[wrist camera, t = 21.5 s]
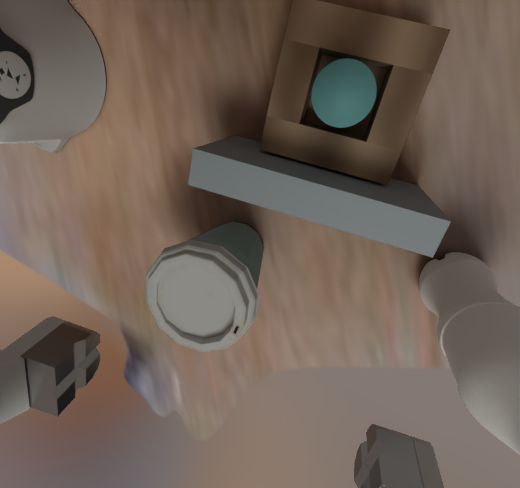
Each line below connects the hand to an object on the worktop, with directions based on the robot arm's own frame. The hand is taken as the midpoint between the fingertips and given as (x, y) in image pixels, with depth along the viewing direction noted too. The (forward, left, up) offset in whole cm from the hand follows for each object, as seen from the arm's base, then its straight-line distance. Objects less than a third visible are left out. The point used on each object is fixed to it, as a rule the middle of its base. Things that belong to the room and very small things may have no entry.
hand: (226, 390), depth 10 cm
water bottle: (+18, -6, -31) cm, 36 cm away
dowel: (+1, +8, -29) cm, 30 cm away
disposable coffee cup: (-6, -10, -31) cm, 33 cm away
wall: (+1, +1, -31) cm, 31 cm away
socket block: (+1, +8, -31) cm, 32 cm away
